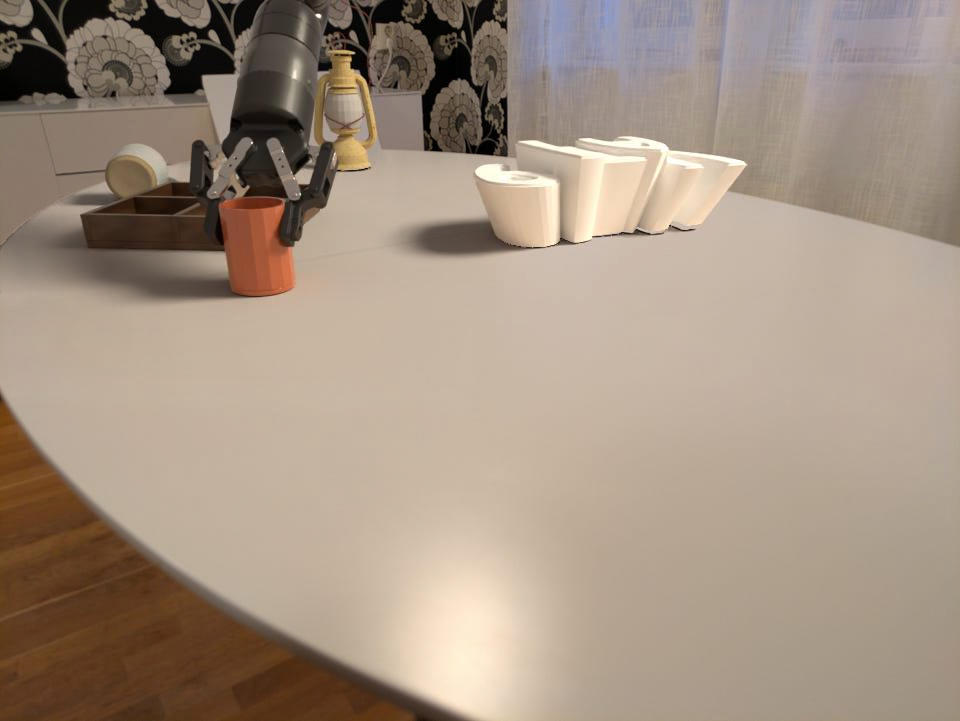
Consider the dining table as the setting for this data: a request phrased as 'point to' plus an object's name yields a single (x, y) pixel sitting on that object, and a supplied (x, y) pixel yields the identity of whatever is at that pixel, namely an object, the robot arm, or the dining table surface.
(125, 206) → the tray
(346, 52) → the lantern
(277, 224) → the cup
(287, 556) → the dining table surface
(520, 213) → the white wavy slab sculpture
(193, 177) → the robot arm
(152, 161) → the ceramic mug
